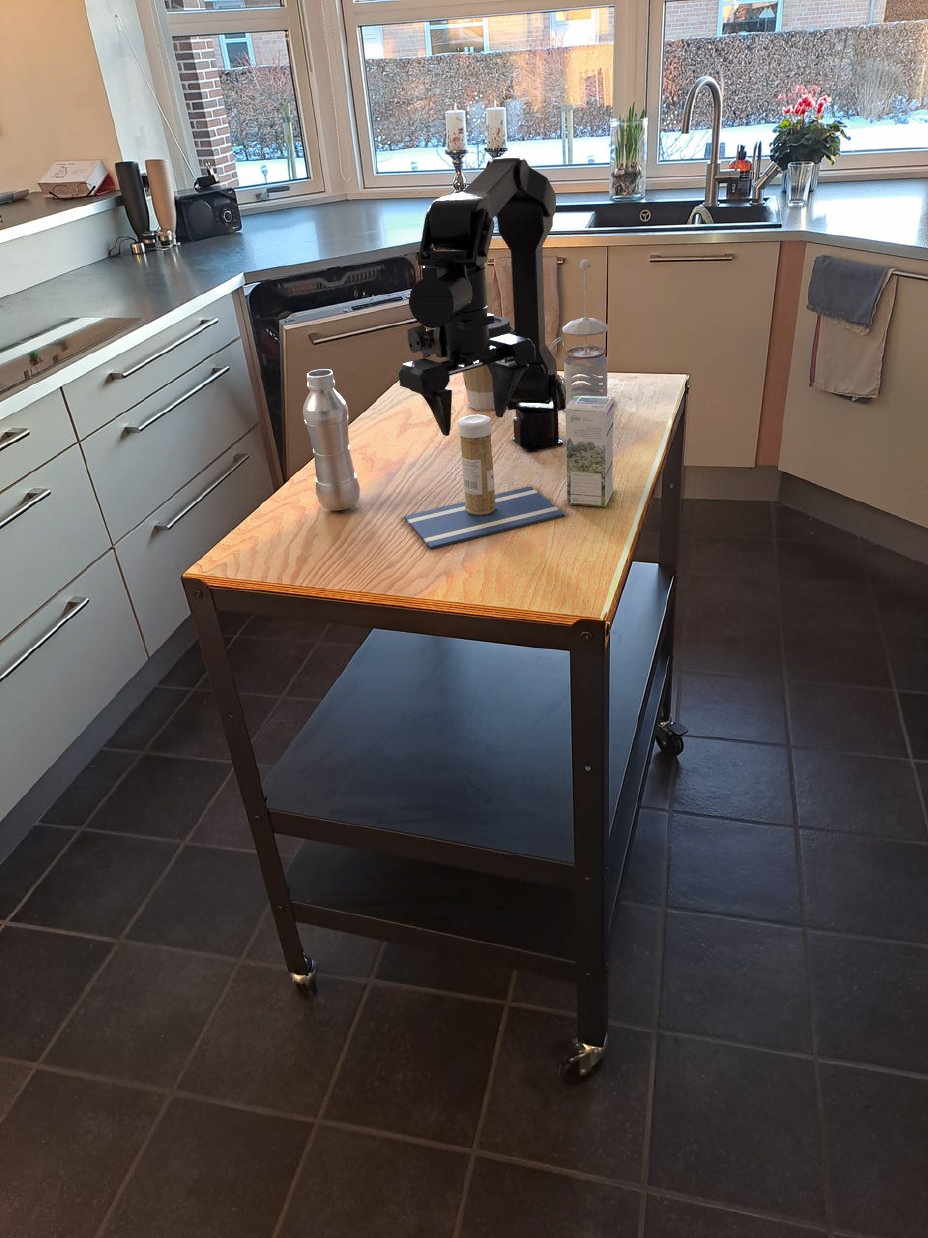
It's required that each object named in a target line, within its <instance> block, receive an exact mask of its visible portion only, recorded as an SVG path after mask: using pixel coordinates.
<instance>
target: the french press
mask: <svg viewBox="0 0 928 1238" xmlns="http://www.w3.org/2000/svg"><path fill="white" fill-rule="evenodd" d="M579 268H580V269H583V270H584V271H583V272H584V273H583V274H584V278H583V279H584V281H583V282H584V286H583V287H584V317H581V318H578V319H573V320H571V321H569V322H568V323H567V324H565V325H564V326H562V329H561V331H562V332H563V334H564V335H568V336H572V337H584V344H582V345H576V346H573V347H569V348H568V349H566V350H565V353H564V354H565V356H566V357H565V358H564V360H563V373H564V374H563V375H564V376H562V375H560V374H558V375H559V376H560V378H561V381H562V383H563V385H564V387H565V389H566V407H567V405H568V403H569V402H570V400H571V399H572V398H573V397H574V396H599V397H608V357H607V356H606V355H605V354H606V353H607V349H606V348H604V347H602V346H599V345H590V344H589V345H587V337H591V336H597V335H602V334H603V335H604V334H605V333H607V331H608V330H609V328H610V326H609V324H607V323H605V321H603V320H599V319H597V318H593V317H587V297H586V296H587V290H586V289H587V284H586V281H587V280H586V271H587V270H586V269H588V268H591V261H590V260H588V259H582V260H581V261H580V263H579ZM561 341H562V346H563V347H565V346H566V341H565V338H564V336H559V337H557V338H555V339H554V340H553V341H552V342H551V343H550V345H549V347H548V349H549V351H550V352H551V353H552V350H553V348H554V347H555V346H556V344H558V343H560V342H561ZM577 361H585V362H586V363H588V364H591V365H588V364H585V363H576V364H573V365H572V363H574V362H577ZM578 382H579V383H578ZM565 410H566V409H564V410H563V411H564V412H565Z"/></svg>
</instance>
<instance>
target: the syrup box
mask: <svg viewBox="0 0 928 1238" xmlns="http://www.w3.org/2000/svg"><path fill="white" fill-rule="evenodd" d="M565 409H566V410H565V411H564V412H565V415H564V416H565V419H564V420H565V464H566V465H565V466H566V467H565V468H566V470H565V471H566V504H567V505H571V506H584V507H596V508H597V507H598V508H599V507H600V508H605V507H607V505H608V503H609V501H610V499H611V496H612V494H613V492H614V427H615V426H614V424H615V423H614V420H615V417H614V416H615V399H614V397H613V396H607V397H599V396H574V397H573V398H572V399H571V400H570V402H569V403H568V405H567V407H566V408H565Z"/></svg>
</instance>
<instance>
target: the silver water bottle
mask: <svg viewBox="0 0 928 1238" xmlns="http://www.w3.org/2000/svg"><path fill="white" fill-rule="evenodd" d="M306 379H307V389H308V390H309V393H308V394H307V397H306V399H305V400H304V401H305V402H304V404H303V406H302V416H303V420H304V423H305V426H306V429H307V432H308V436H309V439H310V443H311V449H312V452H313V453H312V454H313V456H314V458H313V459H314V469H315V495H316V497H317V500H318V503H319V504H320V505H321V507H323V508H324V509H326V510H329V511H344V510H349V509H350V508H353V507H355V506H356V505H357V504H358V502H359V500H360V496H361V487H360V483H359V480H358V477H357V474H356V472H355V468H354V464H353V458H352V454H351V447H350V437H349V407H348V405H347V402H346V401H345V399H344V398H343V397H342V395H341V394H340V393H339V392H337V390H336V389H335V386H336V382H335V378H334V373H333V371H332V370H331V369H325V368H323V369H314V370H311V371H309V372H307V373H306Z"/></svg>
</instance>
